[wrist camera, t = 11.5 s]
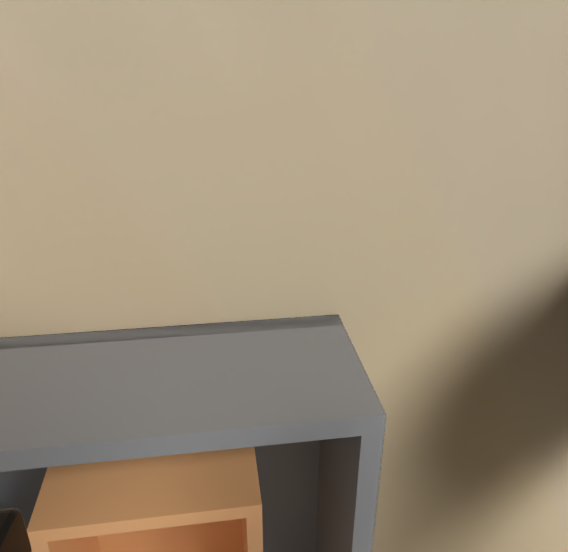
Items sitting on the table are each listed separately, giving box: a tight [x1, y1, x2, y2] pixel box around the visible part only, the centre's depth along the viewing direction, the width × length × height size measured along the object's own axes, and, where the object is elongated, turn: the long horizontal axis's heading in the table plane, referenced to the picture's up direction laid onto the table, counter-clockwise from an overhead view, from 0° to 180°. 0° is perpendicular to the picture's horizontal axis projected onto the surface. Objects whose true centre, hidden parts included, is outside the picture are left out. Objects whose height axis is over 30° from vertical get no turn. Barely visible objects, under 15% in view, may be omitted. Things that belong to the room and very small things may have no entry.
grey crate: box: [0, 315, 386, 552], centre depth 21 cm, size 14×16×6 cm
